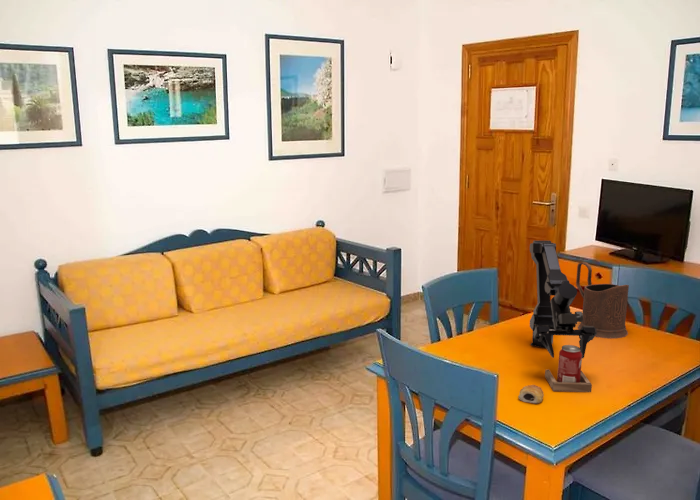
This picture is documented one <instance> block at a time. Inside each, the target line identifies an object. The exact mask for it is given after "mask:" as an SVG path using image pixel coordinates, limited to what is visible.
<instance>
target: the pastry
mask: <svg viewBox="0 0 700 500" xmlns="http://www.w3.org/2000/svg"><path fill="white" fill-rule="evenodd" d="M544 396H545V395H544V390H543V389H542V387H541V386H538V385H536V384H529V385H528V384H527V385H525V386H523V387H522V389H520V391H519V395H518V399H519V401H522V402H524V403H530V404H540V403H542V402H543V399H544Z"/></svg>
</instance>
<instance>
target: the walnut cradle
mask: <svg viewBox="0 0 700 500" xmlns="http://www.w3.org/2000/svg"><path fill="white" fill-rule="evenodd" d="M544 371H545V372H544V377H545V380H546V381H547V383H548V384H549V386H550V388H551V389H552V392H567V393H568V392H569V393H571V392H572V393H573V392H574V393H575V392H576V393H592V387H593V385H592V384H593V383H591V382H590V380H589V379H588V378H587V376H586V374H585V373H584V372H583V370H581V376H580V383H572V382H558V381H557V379H556V378H555V377H554V375H553V374H552V372H551V370H550V369H545V370H544Z"/></svg>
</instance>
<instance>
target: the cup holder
mask: <svg viewBox="0 0 700 500" xmlns="http://www.w3.org/2000/svg"><path fill="white" fill-rule="evenodd" d="M582 265H584V266H585V267H586V268H587V285H585V286H584V289H583V287H582V286H581V272H582V271H581V270H582ZM576 267H577V268H576V280H575V281H576V282H575V285H576V286H575V287H577V288H576V289H577V291H579V293H580V295H581V297H582V299H583V301H582V302H583V304H582V315H583V321H582V322H579V325H578V326H577V330H580V329H581V328H582V326H594V327H595V328H596V331H597V334H596V335H595V337H594V338H600V339H601V338H602V339H611V340H612V339H622V338H625V337H627V336H628V334H629V332H628V330H627V326H626V319H627V308H628V300H629V298H628V296H629V289H630V286H629V284H623V285H619V284H614V283H598V284H597V283H595V284H592V283H593V282H592V274H593V269H592V268H593V267H592V266H591V264H589V262H586V261H583V262H582V261H581V262H579V263H578V264H577V266H576Z"/></svg>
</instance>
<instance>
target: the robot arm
mask: <svg viewBox="0 0 700 500" xmlns="http://www.w3.org/2000/svg"><path fill="white" fill-rule="evenodd" d="M529 253H530V255H531V256H530V257H531V259H532V261H533V262H534V263H535V265H536V266H535V267H536V270H535V271H536V293H537V294H536V295H537V304H536V305H535V307H534V309H533V311H532V313H533V314H532V315H531V317H530V320H529V328H530V330H532V336H531V337H532V338H531V343H530V346H532V347H537V348H542V349H543V348H544V349H546V350H547V352H548V354H549V355H550V356H551V358H552V359H555V358H554V357H555V352H554V347H553V344H554V336H573V337H574V336H576V337H577V336H578V338H579V340H578V344H579V348H580V352H581V353H582V359H584V358H585V355H586V350H587V349H586V348H587V344H588V343H589V342H590V341H593V340H594V339H595V338H596V337H595V335H596V334H597V331H596V328H595V327H594V326H582V328H581V329H580V330H578V329H576V325H578V323H581V322H582V321H583V315H582V313H583V311H574V313H573V312H572V311H571V307H570V305H572V303H573V302H574V300H575V298H576V296H577V295H578V288H576V286H575V285H574V284H571V283H570V280H568V277H567V275H566V274H565V273H563V272H562V270H561V266H560V263H559V259H558V255H557V243H555V242H552V241H551V240H533V241H532V243H530V244H529ZM551 296H553V297H551ZM574 328H575V329H574Z"/></svg>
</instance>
